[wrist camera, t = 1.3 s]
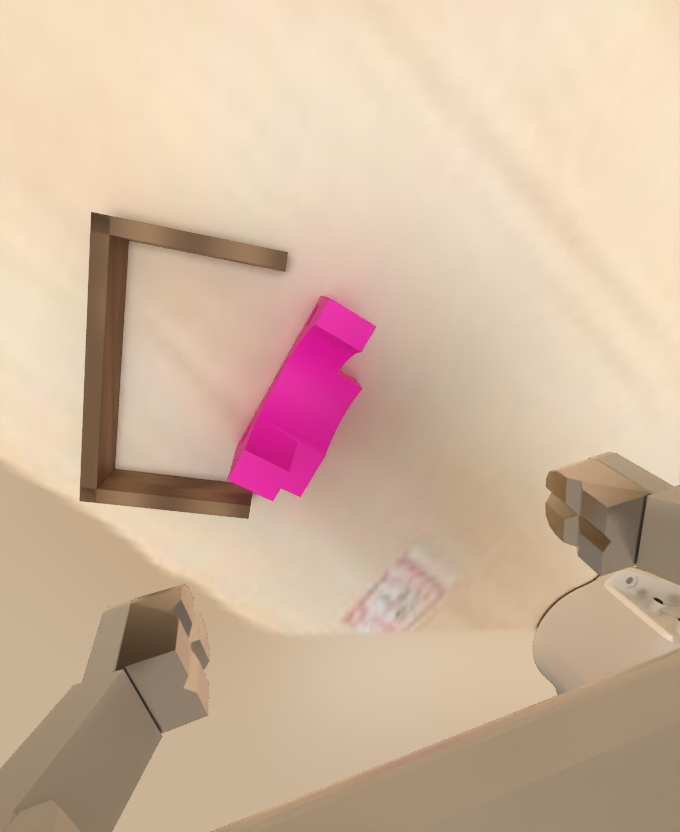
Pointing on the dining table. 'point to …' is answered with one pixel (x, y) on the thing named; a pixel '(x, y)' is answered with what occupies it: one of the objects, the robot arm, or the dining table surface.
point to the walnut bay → (105, 369)
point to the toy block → (302, 405)
